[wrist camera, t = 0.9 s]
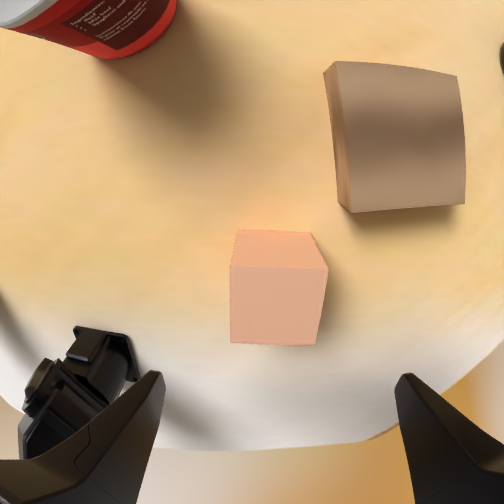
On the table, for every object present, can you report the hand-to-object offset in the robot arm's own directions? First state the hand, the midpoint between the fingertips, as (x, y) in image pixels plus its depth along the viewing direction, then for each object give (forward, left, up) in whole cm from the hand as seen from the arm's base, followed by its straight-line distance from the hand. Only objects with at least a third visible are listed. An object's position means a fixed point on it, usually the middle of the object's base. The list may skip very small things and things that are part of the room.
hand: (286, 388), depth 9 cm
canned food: (+18, +11, -12) cm, 25 cm away
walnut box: (+9, -8, -12) cm, 17 cm away
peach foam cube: (-1, 0, -12) cm, 12 cm away
